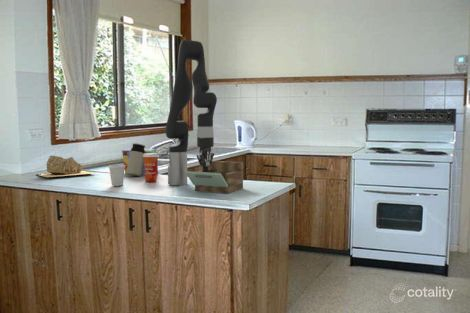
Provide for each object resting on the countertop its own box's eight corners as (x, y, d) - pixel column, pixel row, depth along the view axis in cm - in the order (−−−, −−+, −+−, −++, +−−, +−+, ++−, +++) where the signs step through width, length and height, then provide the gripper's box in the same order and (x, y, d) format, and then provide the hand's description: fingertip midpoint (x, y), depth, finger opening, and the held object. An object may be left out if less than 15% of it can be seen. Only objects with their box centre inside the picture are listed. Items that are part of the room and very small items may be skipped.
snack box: (159, 173, 297) (156, 148, 294) (153, 176, 293) (150, 151, 289) (130, 171, 307) (126, 147, 303) (124, 174, 302) (121, 150, 298)
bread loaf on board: (46, 176, 280) (41, 151, 286) (38, 192, 296) (33, 168, 301) (95, 172, 296) (89, 148, 302) (85, 188, 312) (80, 164, 318)
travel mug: (143, 176, 289) (148, 146, 292) (132, 173, 283) (138, 142, 286) (134, 176, 294) (139, 146, 297) (123, 173, 288) (129, 143, 291)
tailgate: (193, 187, 238) (184, 174, 231) (194, 183, 239) (186, 171, 232) (227, 189, 231) (219, 176, 223) (228, 186, 232) (220, 173, 224)
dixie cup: (105, 185, 258) (105, 165, 257) (116, 183, 265) (116, 164, 264) (118, 186, 254) (117, 166, 253) (129, 184, 261) (128, 165, 260)
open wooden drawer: (194, 190, 240) (194, 163, 239) (210, 186, 254) (210, 160, 253) (228, 193, 232) (228, 165, 231) (242, 188, 247) (243, 162, 245)
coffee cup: (140, 181, 270) (140, 154, 269) (147, 179, 278) (147, 152, 276) (154, 182, 268) (154, 154, 266) (161, 180, 275) (161, 153, 274)
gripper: (205, 135, 236) (205, 172, 237) (190, 137, 224) (191, 175, 225) (219, 136, 233) (219, 173, 234) (205, 137, 221) (206, 176, 222)
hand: (205, 174), depth 230 cm, fingers closed
